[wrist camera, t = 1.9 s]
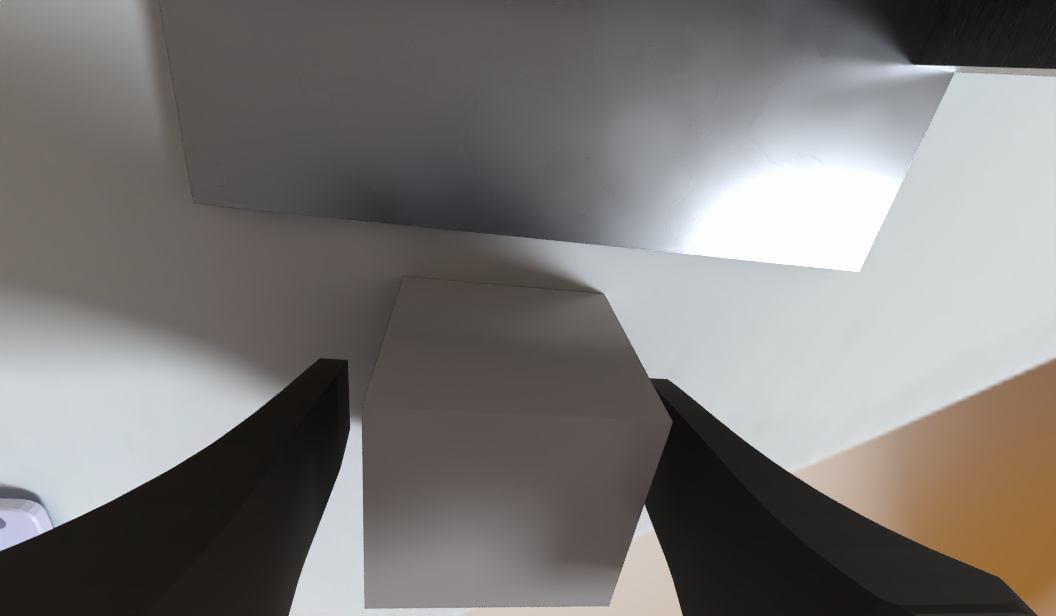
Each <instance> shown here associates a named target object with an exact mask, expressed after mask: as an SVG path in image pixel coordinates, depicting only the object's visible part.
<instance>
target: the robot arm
mask: <svg viewBox="0 0 1056 616" xmlns="http://www.w3.org/2000/svg"><path fill="white" fill-rule="evenodd" d="M649 379H650V381H651V382H652V384H653V386H654V388H655V390H656V392H657V394H658V395H659V397H660V399H661V401H662V403H663V405H664V407H665V409H666V410H667V412H668V414H669V416H670V418H671V420H672V422H673V423H672V426H671V429H670V432H669V434H668V437H667V440H666V443H665V446H664V449H663V452H662V455H661V457H660V460H659V463H658V466H657V469H656V472H655V475H654V478H653V480H652V483H651V486H650V489H649V492H648V495H647V498H646V501H645V503H644V504H645V506H646V509H647V512H648V514H649V517H650V519H651V522H652V524H653V527H654V530H655V532H656V534H657V537H658V540H659V542H660V545H661V548H662V550H663V553H664V555H665V558H666V561H667V564H668V567H669V569H670V572H671V575H672V578H673V581H674V585H675V589H676V592H677V596H678V600H679V603H680V607H681V611H682V614H683V616H1037V615H1036V614H1035V613H1034V612H1033V611H1032V609H1031V608H1029V606H1027V605H1026V603H1025V602H1024V601H1023V600H1022V599H1021V598H1020V597H1019V596H1018V595H1017V594H1016V593H1015V592H1014V591H1013V590H1012V589H1011V588H1010V587H1009V586H1008V585H1007V584H1006V583H1005V582H1003V581H1002V580H1001V579H1000V578H999V577H997V576H994V575H992V574H990V573H987V572H984V571H982V570H980V569H978V568H975V567H973V566H970V565H968V564H965V563H963V562H961V561H958V560H956V559H953V558H951V557H949V556H946V555H944V554H941V553H939V552H937V551H934V550H932V549H930V548H927V547H925V546H923V545H921V544H919V543H917V542H915V541H913V540H910V539H908V538H906V537H904V536H902V535H900V534H898V533H896V532H894V531H891V530H889V529H887V528H885V527H883V526H881V525H879V524H877V523H875V522H873V521H872V520H869V519H868V518H866V517H864V516H862V515H860V514H858V513H856V512H855V511H853V510H851V509H849V508H847V507H846V506H844V505H842V504H840V503H838V502H837V501H834V500H833V499H831V498H829V497H828V496H826V495H824V494H823V493H821V492H819V491H817V490H816V489H814V488H812V487H811V486H810V485H808V484H806V483H805V482H803V481H802V480H800V479H799V478H797V477H795V476H794V475H792V474H791V473H789V472H788V471H786V470H785V469H783V468H782V467H780V466H779V465H777V464H776V463H774V462H773V461H771V460H770V459H769V458H767V457H766V456H765V455H763V454H762V453H760V452H759V451H758V450H756V449H755V448H754V447H752V446H751V445H750V444H748V443H747V442H746V441H744V440H743V439H742V438H740V437H739V436H738V435H736V434H735V433H734V432H733V431H731V430H730V429H729V428H728V427H726V426H725V425H724V424H723V423H721V422H720V421H719V420H718V419H716V418H715V417H714V416H713V415H712V414H710V413H709V412H708V411H707V410H706V409H704V408H703V407H702V406H701V405H700V404H698V403H697V402H696V401H695V400H693V399H692V398H691V397H690V396H689V395H687V394H686V393H685V392H684V391H682V390H681V389H680V388H679V387H677V386H676V385H675V384H673V383H672V382H670V381H669V380H668V379H653V378H649ZM349 431H350V413H349V382H348V360H340V359H324V358H320V359H319V360H317V361H316V362H315V363H314V364H313V365H311V366H310V367H309V368H308V369H307V370H305V371H304V372H303V373H302V374H301V375H300V376H298V377H297V378H296V379H295V380H294V381H293V382H291V383H290V384H289V385H288V386H287V387H286V388H284V389H283V390H282V391H281V392H280V393H278V394H277V395H276V396H275V397H273V398H272V399H271V400H270V401H269V402H267V403H266V404H265V405H264V406H262V407H261V408H260V409H259V410H257V411H256V412H255V413H254V414H252V415H251V416H250V417H248V418H247V419H246V420H244V421H243V422H241V423H240V424H239V425H237V426H236V427H235V428H233V429H232V430H231V431H229V432H228V433H226V434H225V435H224V436H222V437H221V438H219V439H218V440H217V441H215V442H214V443H212V444H211V445H209V446H207V447H206V448H204V449H203V450H201V451H200V452H198V453H197V454H195V455H193V456H192V457H190V458H188V459H187V460H185V461H183V462H182V463H180V464H179V465H177V466H175V467H174V468H172V469H170V470H168V471H167V472H165V473H163V474H161V475H159V476H158V477H156V478H154V479H152V480H150V481H148V482H146V483H144V484H143V485H141V486H139V487H137V488H135V489H133V490H131V491H130V492H128V493H126V494H124V495H122V496H120V497H118V498H116V499H115V500H113V501H111V502H109V503H107V504H105V505H103V506H101V507H98V508H96V509H94V510H92V511H90V512H88V513H86V514H84V515H82V516H80V517H78V518H75V519H73V520H71V521H69V522H67V523H64V524H62V525H60V526H58V527H55V528H53V526H52V524H51V521H50V519H49V517H48V514H47V512H46V510H45V509H44V508H43V506H41V505H40V504H38V503H37V502H34V501H31V500H26V499H0V616H289V612H290V608H291V605H292V601H293V598H294V594H295V590H296V587H297V583H298V580H299V577H300V574H301V571H302V568H303V565H304V562H305V559H306V557H307V554H308V551H309V549H310V546H311V544H312V541H313V538H314V536H315V533H316V531H317V528H318V526H319V523H320V520H321V518H322V515H323V513H324V510H325V507H326V505H327V502H328V500H329V497H330V494H331V492H332V489H333V487H334V484H335V481H336V479H337V476H338V473H339V471H340V468H341V464H342V460H343V456H344V452H345V448H346V444H347V439H348V435H349Z"/></svg>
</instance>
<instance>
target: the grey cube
mask: <svg viewBox="0 0 1056 616" xmlns="http://www.w3.org/2000/svg"><path fill="white" fill-rule="evenodd" d="M672 423H673V422H672V420H671V418H670V416H669V414H668V412H667V410H666V409H665V407H664V405H663V403H662V401H661V399H660V397H659V395H658V394H657V392H656V390H655V388H654V386H653V384H652V382H651V381H650V379H649V377H648V375H647V373H646V371H645V369H644V367H643V366H642V364H641V362H640V360H639V358H638V356H637V354H636V353H635V351H634V349H633V347H632V345H631V343H630V341H629V339H628V338H627V336H626V334H625V332H624V330H623V328H622V326H621V324H620V323H619V321H618V319H617V317H616V315H615V313H614V311H613V310H612V308H611V306H610V304H609V302H608V300H607V298H606V296H605V295H604V294H600V293H589V292H578V291H566V290H555V289H543V288H532V287H521V286H509V285H498V284H487V283H475V282H464V281H453V280H441V279H430V278H419V277H407V276H404V277H403V280H402V283H401V286H400V289H399V292H398V295H397V299H396V302H395V305H394V308H393V311H392V314H391V317H390V320H389V323H388V327H387V330H386V333H385V336H384V339H383V342H382V345H381V348H380V352H379V355H378V358H377V361H376V364H375V367H374V370H373V373H372V376H371V380H370V383H369V386H368V389H367V392H366V395H365V398H364V401H363V405H362V457H363V526H364V595H365V609H368V608H470V607H560V606H561V607H566V606H567V607H570V606H609V604H610V601H611V598H612V595H613V592H614V589H615V586H616V584H617V581H618V578H619V575H620V572H621V569H622V567H623V564H624V561H625V558H626V555H627V552H628V549H629V546H630V544H631V541H632V538H633V535H634V532H635V529H636V526H637V524H638V521H639V518H640V515H641V512H642V509H643V506H644V503H645V501H646V498H647V495H648V492H649V489H650V486H651V483H652V480H653V478H654V475H655V472H656V469H657V466H658V463H659V460H660V457H661V455H662V452H663V449H664V446H665V443H666V440H667V437H668V434H669V432H670V429H671V426H672Z"/></svg>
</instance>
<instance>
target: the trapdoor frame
mask: <svg viewBox="0 0 1056 616" xmlns="http://www.w3.org/2000/svg"><path fill="white" fill-rule="evenodd" d="M159 4H160V10H161V16H162V22H163V28H164V34H165V39H166V45H167V51H168V57H169V63H170V69H171V74H172V80H173V86H174V92H175V98H176V104H177V110H178V115H179V121H180V127H181V133H182V139H183V145H184V150H185V156H186V162H187V168H188V174H189V180H190V186H191V191H192V197H193V203H194V204H201V205H211V206H221V207H231V208H241V209H251V210H260V211H270V212H280V213H290V214H300V215H310V216H319V217H329V218H339V219H349V220H359V221H369V222H378V223H388V224H398V225H408V226H418V227H428V228H437V229H447V230H457V231H467V232H477V233H487V234H496V235H506V236H516V237H526V238H536V239H546V240H555V241H565V242H575V243H585V244H595V245H605V246H614V247H624V248H634V249H644V250H654V251H664V252H673V253H683V254H693V255H703V256H713V257H723V258H732V259H742V260H752V261H762V262H772V263H782V264H791V265H801V266H811V267H821V268H831V269H841V270H850V271H859V270H860V268H861V266H862V264H863V262H864V260H865V258H866V256H867V254H868V252H869V250H870V248H871V245H872V243H873V241H874V239H875V237H876V235H877V233H878V231H879V229H880V227H881V225H882V223H883V221H884V218H885V216H886V214H887V212H888V210H889V208H890V206H891V204H892V202H893V200H894V198H895V196H896V193H897V191H898V189H899V187H900V185H901V183H902V181H903V179H904V177H905V175H906V173H907V171H908V169H909V166H910V164H911V162H912V160H913V158H914V156H915V154H916V152H917V150H918V148H919V146H920V144H921V141H922V139H923V137H924V135H925V133H926V131H927V129H928V127H929V125H930V123H931V121H932V119H933V117H934V114H935V112H936V110H937V108H938V106H939V104H940V102H941V100H942V98H943V96H944V94H945V92H946V89H947V87H948V85H949V83H950V81H951V79H952V77H953V75H954V73H955V72H961V73H985V74H1008V75H1031V76H1055V77H1056V0H159Z"/></svg>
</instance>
